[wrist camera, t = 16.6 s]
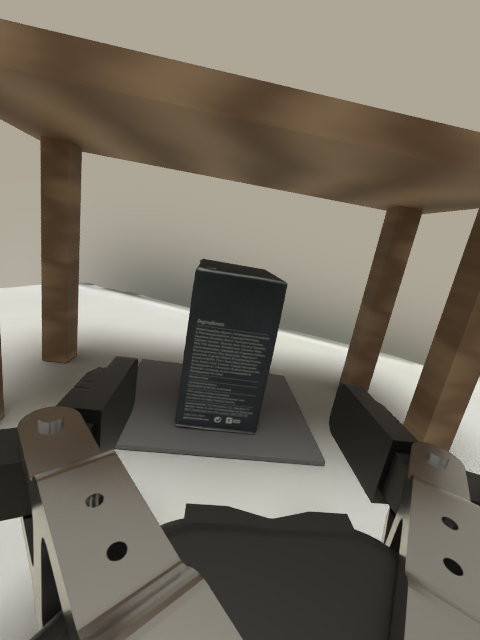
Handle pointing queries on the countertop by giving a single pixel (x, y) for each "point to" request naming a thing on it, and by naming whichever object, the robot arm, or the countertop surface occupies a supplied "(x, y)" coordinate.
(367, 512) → the countertop surface
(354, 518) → the countertop surface
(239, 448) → the charcoal mat
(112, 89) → the low shelf
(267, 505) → the countertop surface
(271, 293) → the box
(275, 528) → the robot arm
